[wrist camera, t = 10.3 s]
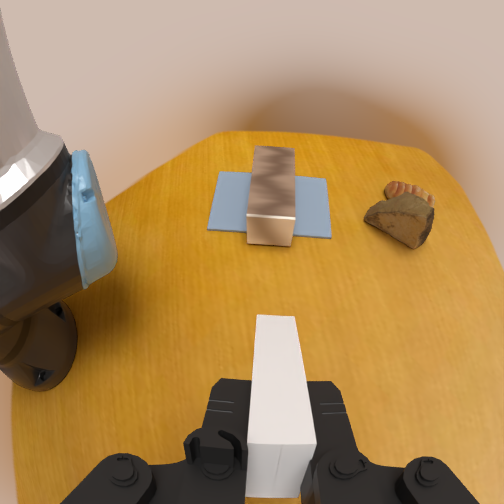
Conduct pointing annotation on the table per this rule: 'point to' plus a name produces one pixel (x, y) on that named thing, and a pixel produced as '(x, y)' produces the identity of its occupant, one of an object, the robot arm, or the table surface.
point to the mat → (236, 202)
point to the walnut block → (271, 197)
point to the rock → (403, 218)
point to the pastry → (400, 187)
